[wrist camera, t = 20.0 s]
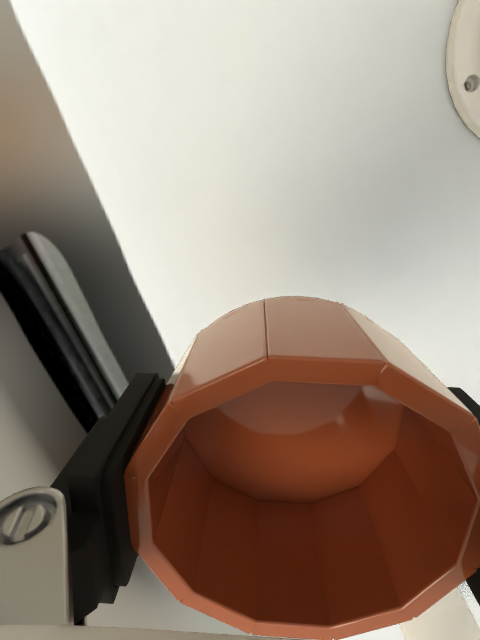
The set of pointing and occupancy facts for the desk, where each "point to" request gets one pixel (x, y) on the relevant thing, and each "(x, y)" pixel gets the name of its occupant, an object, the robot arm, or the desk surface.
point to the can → (444, 621)
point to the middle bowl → (306, 475)
